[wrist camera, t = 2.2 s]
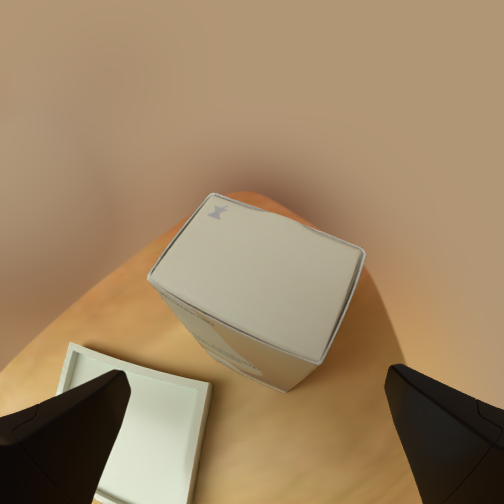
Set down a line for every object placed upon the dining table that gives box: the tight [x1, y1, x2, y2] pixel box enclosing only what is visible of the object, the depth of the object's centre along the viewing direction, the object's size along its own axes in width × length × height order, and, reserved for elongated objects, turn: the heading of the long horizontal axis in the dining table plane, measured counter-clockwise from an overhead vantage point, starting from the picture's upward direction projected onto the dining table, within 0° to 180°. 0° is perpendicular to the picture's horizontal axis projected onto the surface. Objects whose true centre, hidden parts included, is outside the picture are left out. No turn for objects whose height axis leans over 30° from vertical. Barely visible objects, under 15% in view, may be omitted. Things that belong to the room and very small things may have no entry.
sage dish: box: [56, 342, 213, 504], centre depth 14 cm, size 12×12×2 cm
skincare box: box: [147, 193, 366, 393], centre depth 14 cm, size 6×4×12 cm
